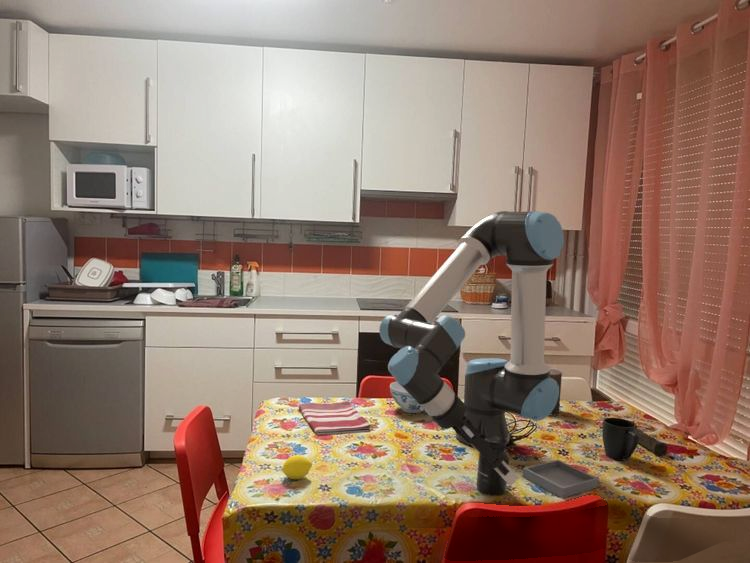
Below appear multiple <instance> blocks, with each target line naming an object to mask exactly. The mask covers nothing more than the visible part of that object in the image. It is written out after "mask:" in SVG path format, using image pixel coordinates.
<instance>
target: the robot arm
mask: <svg viewBox="0 0 750 563" xmlns="http://www.w3.org/2000/svg"><path fill="white" fill-rule="evenodd" d="M564 238H565V237H564V231H563V227H562V225H561V222H560V221H559V220H558V219H557V217H556V216H555V215H554V214H552V213H550V212H545V211H537V210H533V211H507V210H502V211H497V212H494V213H491V214H489V215H487V216H486V217H483V218H482V219H481V220H479V221H478V222H476V223H475V224H473V226H472V227H471V228H469V229H468V230H467V231H466V232H465V233H464V234H463V235H462V236H461V237H460V239H459V240H458V246H457V248H456V249H455V250H454V251H453V253H452V254H451V255H450V256H449V257H448V258H447V259H446V260H445V261H444V262H443V264H442V265H441V266H440V267H439V268H438V270H437V271H435V273H434V274H433V275H432V276H431V278H429V280H428V281H427V282H426V283H425V284H424V286H422V288H420V290H419V291H418V292H417V293H416V295H414V296H413V298H412V299H411V300H410V301H409V302H408V303H407V305H406V306H405V307H404V308H403V309H402V310H401V312H399V314H391V315H386V316H385V317H384V318H383V319H382V320H381V323H380V324H379V336H380V339H381V341H383V342H384V343H385V344H387V345H389V346H392V347H393V348H397V349H399V350H398V351H397V352H396V353H395V354H393V356H391V358H390V360H389V362H388V364H387V369H388V372H389V374H391V376H392V377H393V379H394V380H395V382H398V384H399V385H401V386H402V387H403V388H404V389H405V390H406V391H407V392H408V393H409V394H410V395H411V396H412V397H413V398H414V399H415V400H416V401H417V403H418V404H419V405H420V406H421V407H420V410H421V412H423V411H425V413H426V414H428V415H429V416H431V418H432V420H433V421H434V422H435V423H436V424H437V425H438V426H439V427H440V428H441V429H443V430H448V429H452V430H454V432H455V438H456V439H457V440H458V441H459V442H461V443H463V444H466V445H469V446H472V447H474V449H475V450H476V451H477V452H478V453H479V452H480V453H481V454H482V455H483V456H484V458H485V459H486V460H487V461H488V462H489V463H490V464H491V466H490V467H489V468H490V469H493V468H494V469H495V470H496V471H497V473H498V474H499V475H500V476H501V477H502V478H503V479H504V480H505V481H506V482H507V485H509V487H512V486H513V485H514V484H515V483H516V482H517V481H518V480H519V479H520V477H519V476H518V475H517V473H516V472H515V471H514V470H513V469H512V467H510V465H509V466H508V465H507V464H506V463H505V462H504V461H503V459H502V458H501V457H500V456H498V455H497V454H496V453H495V451H494V450H493V449H492V448H491V447H490V446H489V445H488V444H487V443H486V442H485V437H486V436H499V437H502V438H504V439H505V440H506V446H508V444H509V443H510V436H511V435H510V431H509V429H508V424H507V423H508V422H507V418H506V414H505V413H506V412H507V413H509V414H512V415H516V416H518V417H521V418H522V419H527V420H528V419H529V420H531V421H536V422H538V421H542V420H544V419H546V418H547V417H549V416H551V415H550V413H551V412H552V410H553V409H554V407H555V405H556V403H557V400H558V396H559V386H558V384H557V382H556V381H555V380H554V379H553V378H550V369H551V368H550V366H549V365H548V364H547V363H546V362H545V346H546V344H545V343H546V342H545V340H546V308H547V307H546V303H547V302H546V301H547V300H546V298H547V272H548V270H550V268H551V267H553V265H554V259H556V258H558V257H559V256H560V255H561V253H562V249H563V248H564ZM497 256H504V257H505V256H506V259H505V260H506V261H505V263H506V264H505V265H506V266H507V267H508V268H509V269H510V270H511V303H510V305H511V307H510V308H511V316H510V318H511V319H510V323H511V324H510V359H509V361H508V360H507V359H503V358H496V357H491V358H490V357H485V358H475V359H474V358H473V359H470V360H469V361H468V362H467V363H466V367H465V368H466V369H465V374H464V392H463V393H464V396H463V400H462V399H461V398H460V396H458V395H457V394H455V391H454V390H453V388H451V387H450V386H449V385H448V384H447V383H446V382H445V380H443V378H442V377H441V376H440V375H439V373H440V371H441V370H442V369H443V367H444V365H446V363H447V362H448V361H449V360H450V359H451V357H452V356H453V354H454V353H456V351H457V350H458V349H459V348H460V346H461V344H462V342H463V340H464V339H465V337H466V331H465V329H464V327H463V324H461V323H460V322H459V320H457V319H455V318H454V317H452V316H450V315H442V316H439V315H440V314H441V313H442V311H443V310H444V309H445V307H447V305H448V304H449V303H450V302H451V301H452V300H453V298H454V297H455V296H456V295H457V294H458V292H459V291H461V289H462V287H464V285H465V284H466V283H467V282H468V281H469V279H470V278H471V277H472V276H473V275H474V273H475V272H476V271H477V270H478V269H479V268H480V266H483V265H487V264H488V263H489V261H490V260H492V259H493V258H495V257H497ZM438 316H439V317H438ZM437 317H438V318H437ZM434 320H435V321H434ZM433 322H434V323H433Z"/></svg>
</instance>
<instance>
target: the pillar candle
mask: <svg viewBox="0 0 750 563" xmlns="http://www.w3.org/2000/svg"><path fill="white" fill-rule="evenodd" d="M562 373H563V372H562V371H561V370H558V369H554V368H550V378H553V379H554V380H555V381H556V382H557V384H558V386H559V396H558V400H557V403H556V405H555V407H554V409H553V410H552V412H551V413H550V415H549V416H552V415H553V416H555V415H558V414H559V413H560V405H561V403H560V401H561V390H562V389H561V388H562V379H563V378H562V377H563V376H562V375H563V374H562Z"/></svg>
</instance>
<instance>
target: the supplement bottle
mask: <svg viewBox="0 0 750 563" xmlns="http://www.w3.org/2000/svg"><path fill="white" fill-rule="evenodd" d="M485 442H486V443H487V444H488V445H489V446H490V447H491V448H492V449H493V450H494V451H495V453H496V454H497V455H498V456H500V457H501V458H502V459H503V461H504V462H505V463H506V464H507V465H508V466H509V467H510V465H509V464H510V455H509V453H508V452H507V450H506V449H507V445H506V440H505V439H504V438H502V437H499V436H486V437H485ZM477 459H478V460H477V461H478V462H477V472H476V473H477V474H476V475H477V476H476V488H477V490H478V489H479V490H480V491H479V490H478V491H479V492H480V493H482V492H483V493H482V494H485V495H488V494H489V496H494V495H497V496H502V495H504V494H505V493H506V492H507V488H508V487H507V486H508V483H507V482H506V481H505V480H504V479H503V478H502V477H501V476H500V475H499V474H498V473H497V471H496V470H495V469H494V468H493V469H490V468H489V467H490V466H491V464H490V463H489V462H488V461H487V460H486V459H485V458H484V456H483V455H482V454H481V453H480V452H478V458H477Z"/></svg>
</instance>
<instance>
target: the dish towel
mask: <svg viewBox="0 0 750 563" xmlns="http://www.w3.org/2000/svg"><path fill="white" fill-rule="evenodd" d="M298 409H299V411H300V412H301V414H302V416H303V418H304V419H305V420H306V422H307V423H308V424H309V427H310V428H311V429H312V431H313V432H314V433H315V435H317V436H318V435H319V436H322V435H334V434H335V435H336V434H337V435H338V434H351V433H361V432H362V433H363V432H364V433H365V432H370V429H371V424H370V423H369V421H368V420H367V419H365V418H364V417H363V416H361V413H359V412H358V410H356V409H355V408H354V407H353V406H352V404H351V402H350V400H348V401H347V400H346V401H341V402H335V403H318V402H317V403H316V402H306V403H302V404H300V405H299V406H298Z"/></svg>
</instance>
